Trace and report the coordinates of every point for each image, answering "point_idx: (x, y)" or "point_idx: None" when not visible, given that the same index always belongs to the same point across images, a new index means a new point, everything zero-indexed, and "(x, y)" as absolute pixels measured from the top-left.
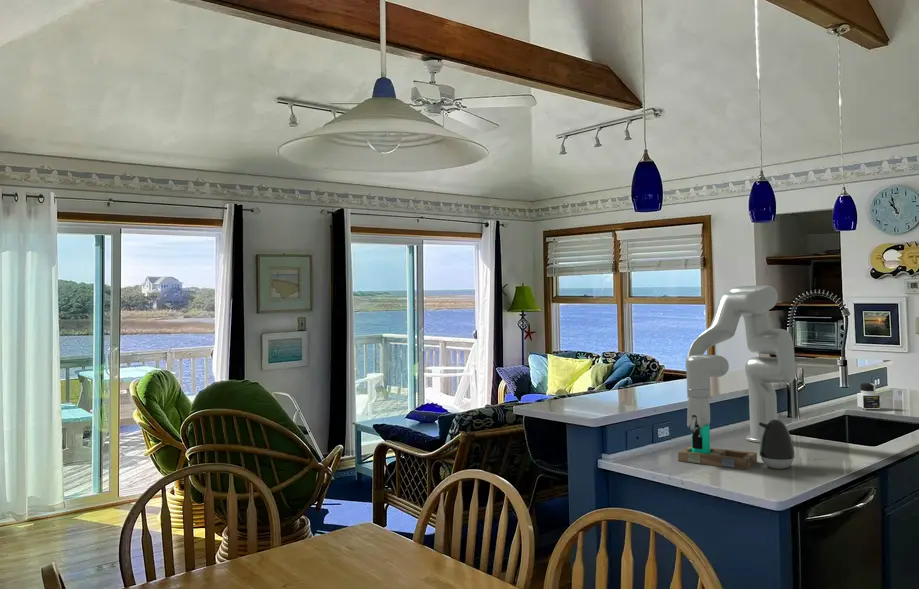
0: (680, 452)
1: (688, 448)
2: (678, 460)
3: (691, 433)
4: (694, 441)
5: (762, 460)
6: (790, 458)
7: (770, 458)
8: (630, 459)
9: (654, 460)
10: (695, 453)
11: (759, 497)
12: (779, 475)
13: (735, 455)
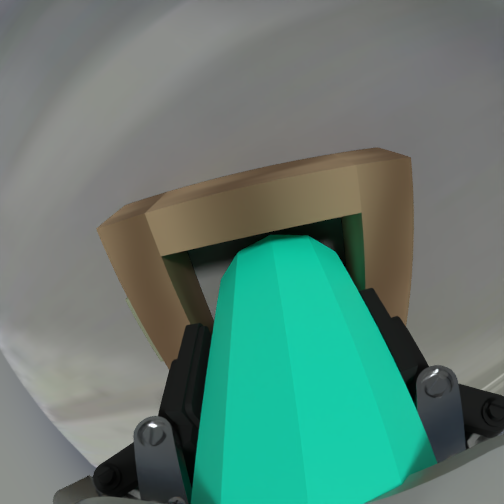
0: (104, 246)
1: (286, 205)
2: (124, 206)
3: (227, 404)
4: (167, 391)
5: None
6: None
7: None
8: (3, 25)
9: (42, 98)
10: (167, 335)
11: (86, 458)
12: None
13: None
